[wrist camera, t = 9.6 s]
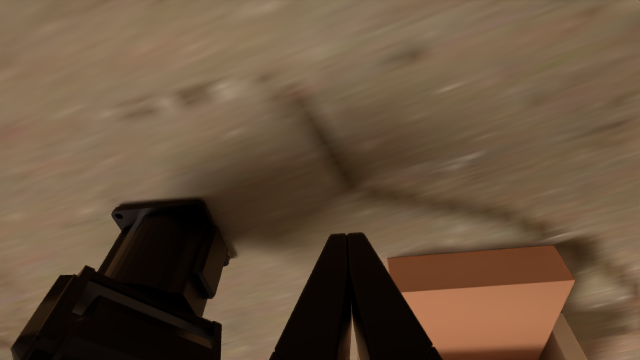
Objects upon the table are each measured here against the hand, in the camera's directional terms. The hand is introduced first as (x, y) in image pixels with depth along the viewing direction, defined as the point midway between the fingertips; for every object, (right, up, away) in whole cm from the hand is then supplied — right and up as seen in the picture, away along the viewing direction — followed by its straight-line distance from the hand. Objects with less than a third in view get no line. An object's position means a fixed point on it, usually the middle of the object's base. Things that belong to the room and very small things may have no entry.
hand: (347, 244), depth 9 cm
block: (+12, -10, +24) cm, 29 cm away
